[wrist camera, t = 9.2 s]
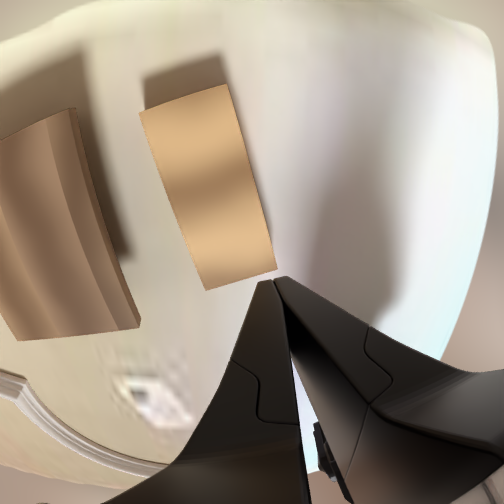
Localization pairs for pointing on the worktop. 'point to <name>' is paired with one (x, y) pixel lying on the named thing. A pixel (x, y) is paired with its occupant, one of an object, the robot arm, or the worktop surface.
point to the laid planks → (56, 239)
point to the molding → (69, 430)
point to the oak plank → (210, 185)
